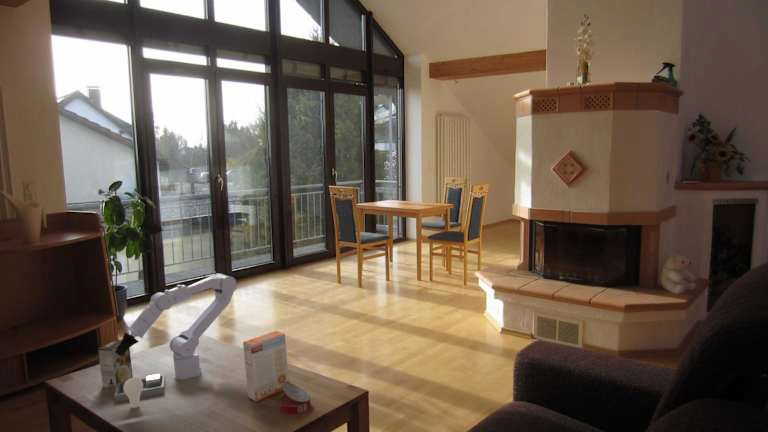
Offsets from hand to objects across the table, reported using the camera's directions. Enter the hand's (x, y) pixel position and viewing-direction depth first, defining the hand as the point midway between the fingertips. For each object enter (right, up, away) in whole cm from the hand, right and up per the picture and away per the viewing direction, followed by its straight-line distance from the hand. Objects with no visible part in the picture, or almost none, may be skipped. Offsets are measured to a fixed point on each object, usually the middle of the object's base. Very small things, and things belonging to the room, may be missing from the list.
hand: (117, 353), depth 184 cm
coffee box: (-7, -16, +15) cm, 23 cm away
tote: (+5, -16, +6) cm, 18 cm away
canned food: (+64, -16, -8) cm, 66 cm away
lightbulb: (+9, -18, -5) cm, 20 cm away
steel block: (+10, -15, +8) cm, 19 cm away
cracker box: (+53, -15, +3) cm, 55 cm away
